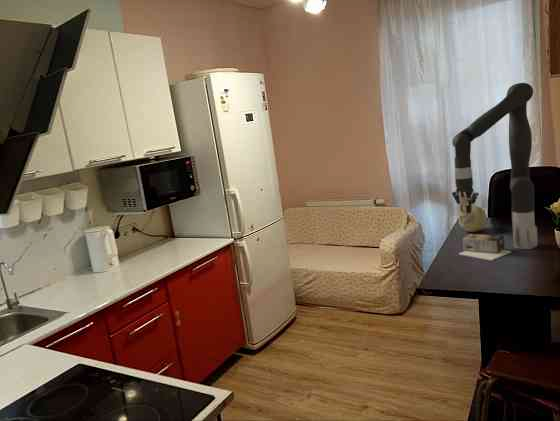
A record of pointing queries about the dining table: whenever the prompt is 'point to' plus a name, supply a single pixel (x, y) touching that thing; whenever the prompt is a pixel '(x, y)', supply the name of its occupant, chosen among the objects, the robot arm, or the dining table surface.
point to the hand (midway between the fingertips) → (466, 212)
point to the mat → (485, 254)
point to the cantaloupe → (478, 222)
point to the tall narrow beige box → (466, 214)
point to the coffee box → (483, 243)
